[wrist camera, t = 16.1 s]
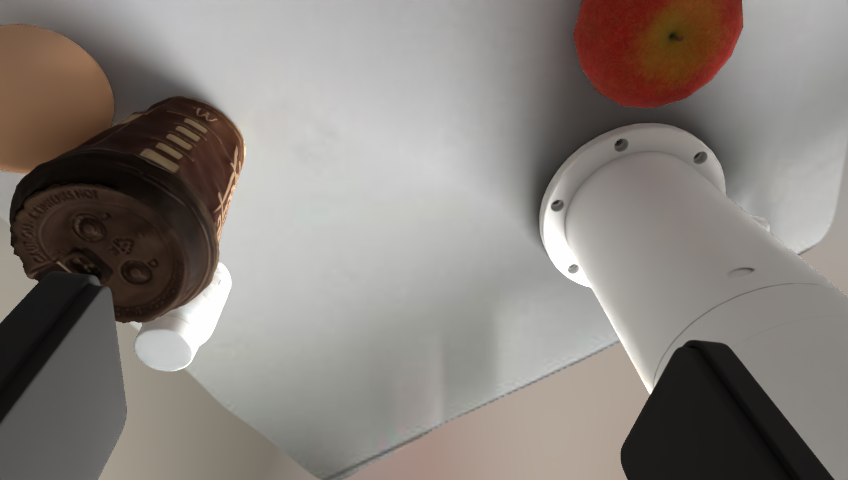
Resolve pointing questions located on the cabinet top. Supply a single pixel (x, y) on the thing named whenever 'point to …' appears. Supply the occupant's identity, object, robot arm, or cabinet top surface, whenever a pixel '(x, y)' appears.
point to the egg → (47, 97)
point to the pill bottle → (183, 327)
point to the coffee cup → (135, 207)
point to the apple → (655, 46)
